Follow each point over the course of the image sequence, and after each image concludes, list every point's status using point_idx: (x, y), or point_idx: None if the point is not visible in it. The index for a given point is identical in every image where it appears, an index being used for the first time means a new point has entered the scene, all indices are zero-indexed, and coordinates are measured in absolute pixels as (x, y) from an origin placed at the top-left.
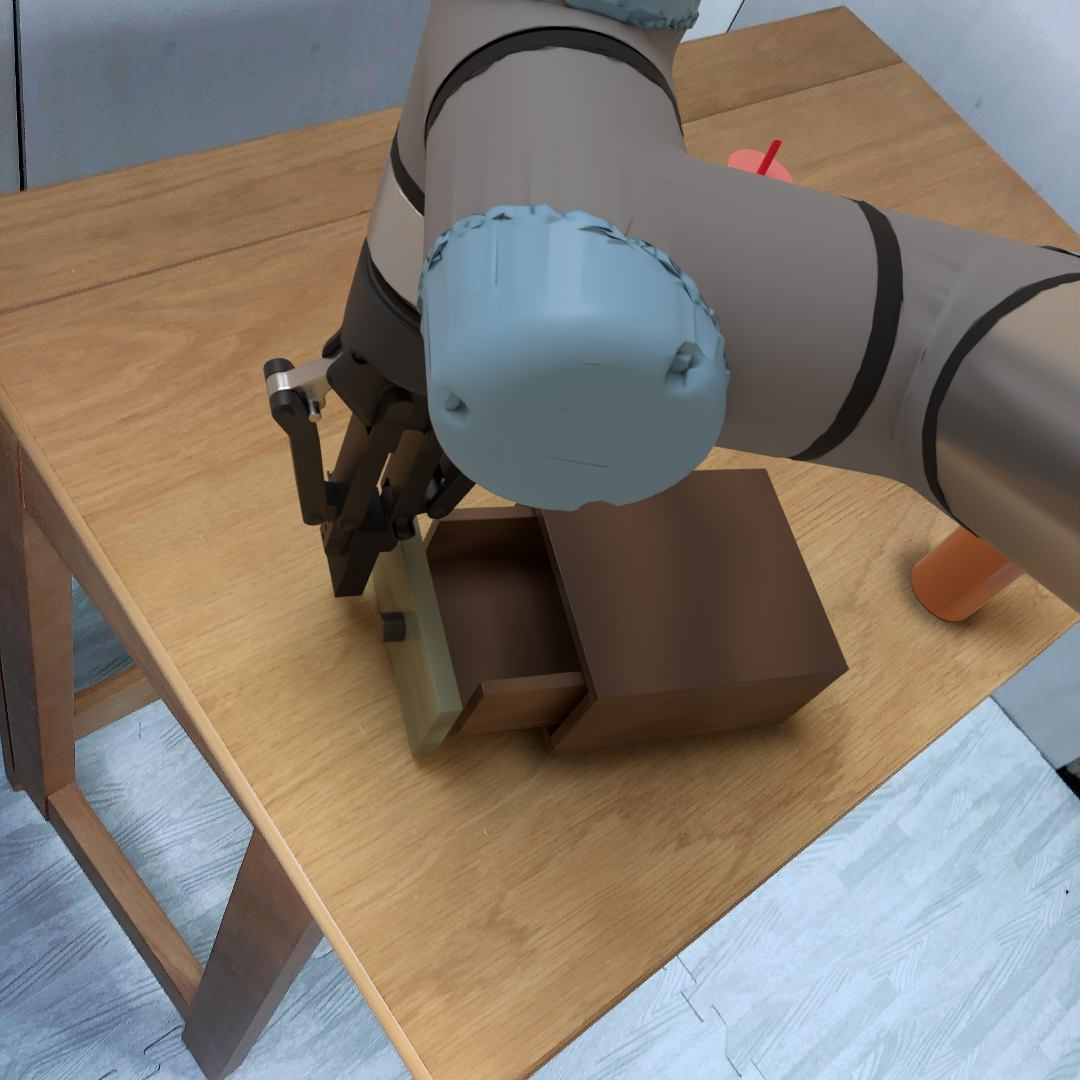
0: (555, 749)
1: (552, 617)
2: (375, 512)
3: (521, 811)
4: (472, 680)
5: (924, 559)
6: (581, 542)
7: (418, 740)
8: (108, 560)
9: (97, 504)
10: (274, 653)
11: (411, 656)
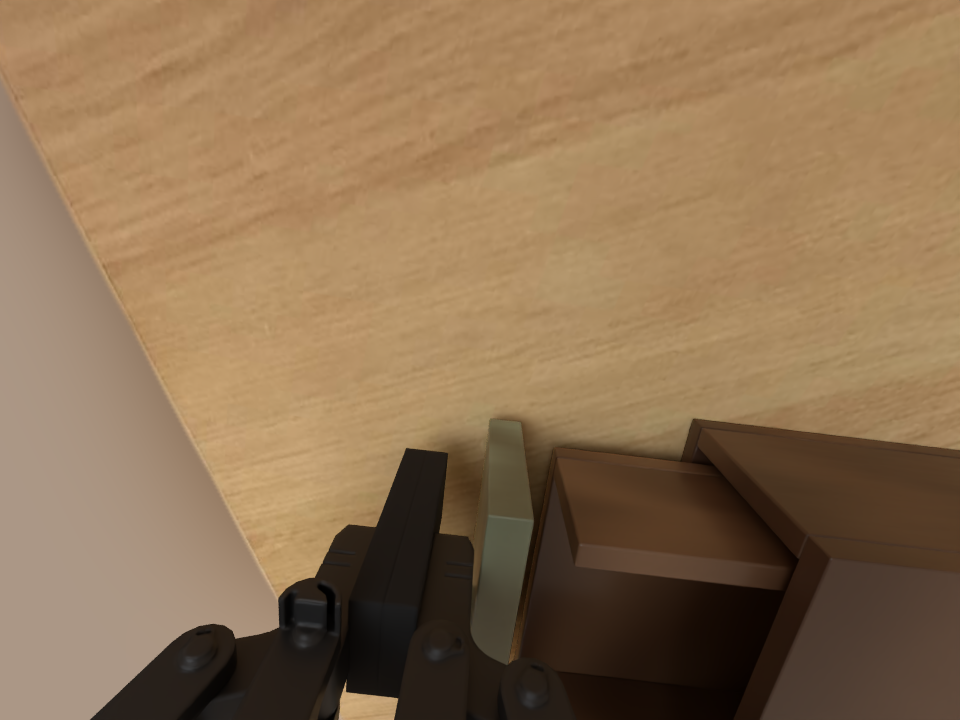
0: None
1: (714, 586)
2: (393, 661)
3: None
4: (556, 633)
5: None
6: (836, 706)
7: None
8: (141, 342)
9: (121, 247)
10: (339, 502)
11: None
